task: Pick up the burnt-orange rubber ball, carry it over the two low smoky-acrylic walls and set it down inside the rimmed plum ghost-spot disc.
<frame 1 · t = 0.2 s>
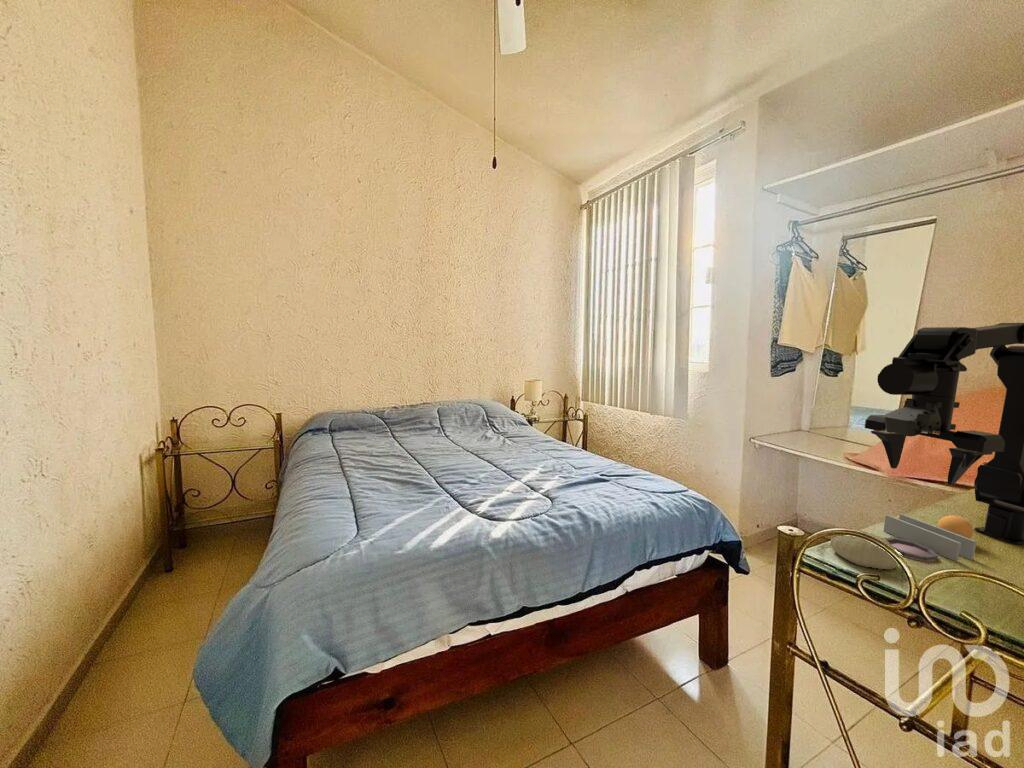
hand: (920, 475, 80), 14 cm above the table, fingers open, 9 cm apart
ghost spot: (907, 550, 79), on the table
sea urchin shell: (862, 560, 75), on the table
acrylic walls: (925, 544, 82), on the table
ball: (955, 528, 85), point 2 cm above the table
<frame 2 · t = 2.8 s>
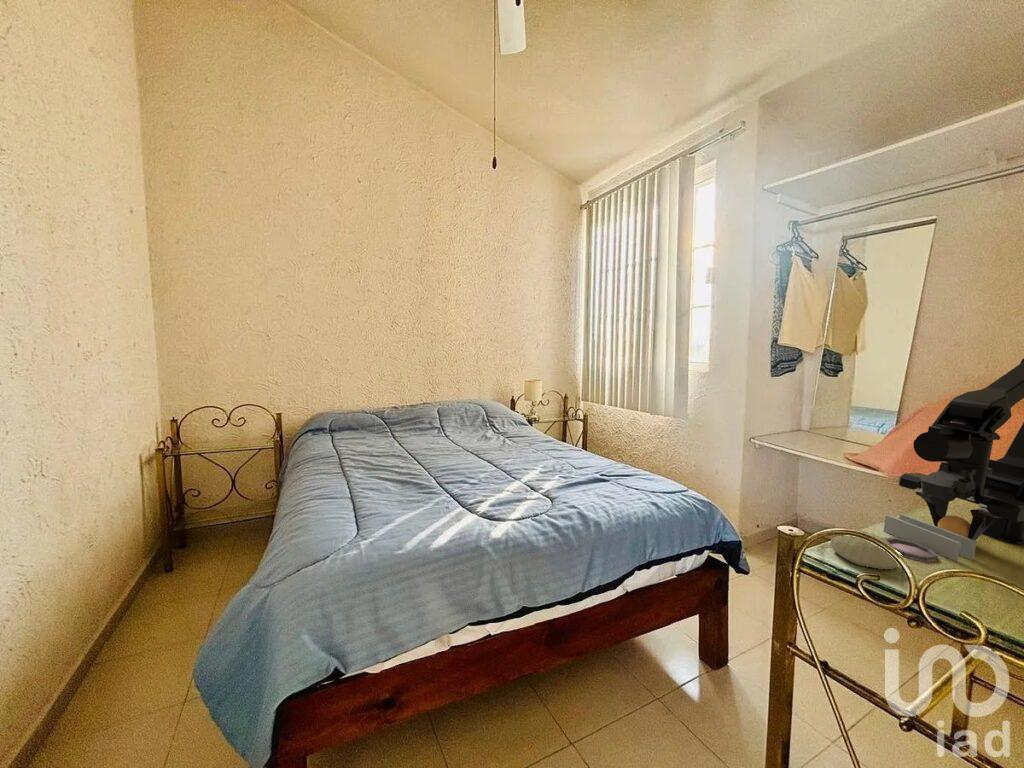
hand: (954, 535, 85), 1 cm above the table, fingers closed on ball, 5 cm apart
ball: (955, 528, 85), point 2 cm above the table, touching gripper
everything else where it was.
when the fingers open (2 cm above the table, at t = 7.7 s): ball drops 1 cm, resting on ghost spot.
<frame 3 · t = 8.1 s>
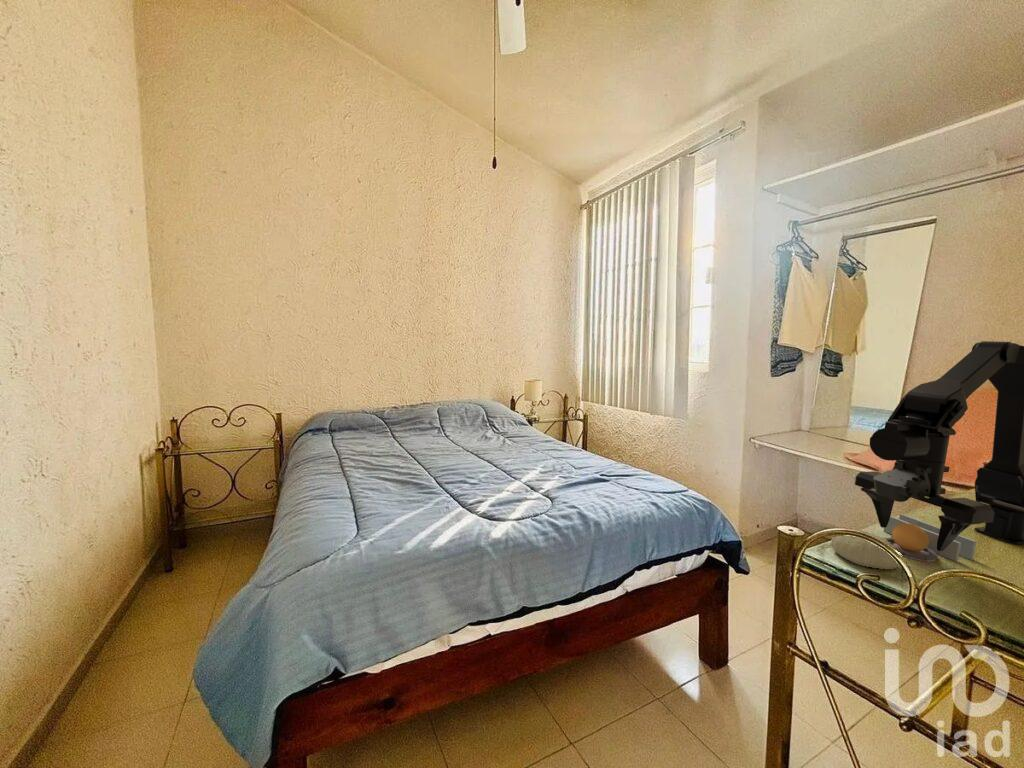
hand: (910, 538, 79), 2 cm above the table, fingers open, 9 cm apart
ball: (910, 537, 79), point 3 cm above the table, touching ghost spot
everything else where it was.
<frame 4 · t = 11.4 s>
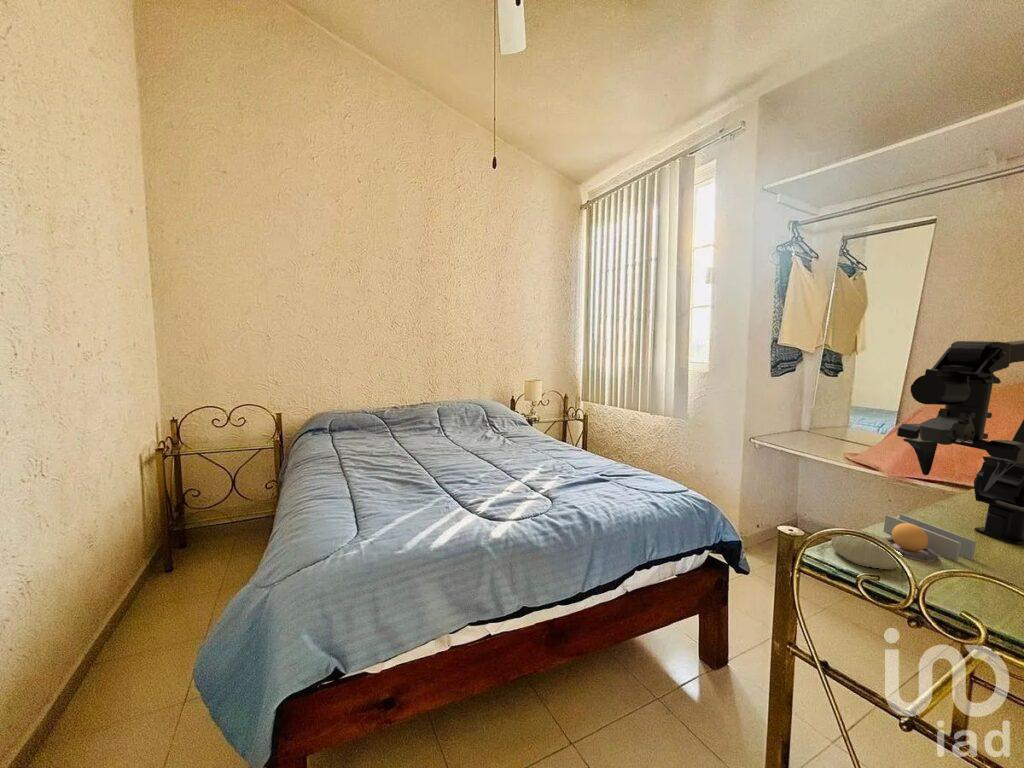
hand: (952, 482, 83), 12 cm above the table, fingers open, 9 cm apart
nothing on the table moved.
at the end: ball 0.1 cm off-centre on the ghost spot, point 2.7 cm above the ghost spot's base; the gripper is holding nothing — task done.
